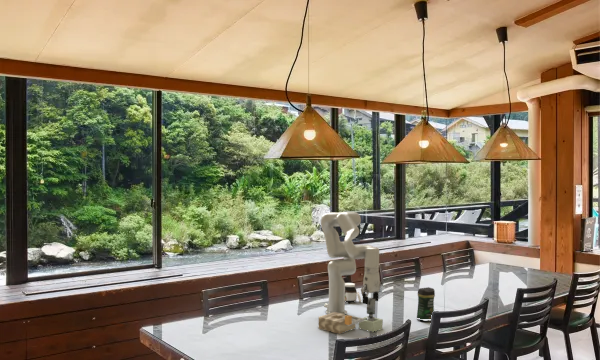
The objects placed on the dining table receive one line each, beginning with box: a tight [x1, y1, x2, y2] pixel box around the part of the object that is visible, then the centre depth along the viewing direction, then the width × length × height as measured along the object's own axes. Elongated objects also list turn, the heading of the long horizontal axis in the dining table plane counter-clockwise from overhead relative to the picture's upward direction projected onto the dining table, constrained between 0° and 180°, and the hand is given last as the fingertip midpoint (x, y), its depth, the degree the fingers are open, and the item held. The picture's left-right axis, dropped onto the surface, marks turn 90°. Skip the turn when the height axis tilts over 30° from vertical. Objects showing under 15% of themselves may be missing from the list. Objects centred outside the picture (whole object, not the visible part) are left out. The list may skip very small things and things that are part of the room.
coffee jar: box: [416, 286, 436, 319], centre depth 278 cm, size 10×8×19 cm
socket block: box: [318, 312, 356, 335], centre depth 259 cm, size 14×14×6 cm
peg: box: [366, 297, 376, 322], centre depth 259 cm, size 4×4×16 cm
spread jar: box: [345, 282, 362, 303], centre depth 318 cm, size 12×11×12 cm
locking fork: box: [342, 314, 364, 326], centre depth 249 cm, size 10×14×5 cm
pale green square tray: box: [358, 315, 384, 333], centre depth 259 cm, size 9×9×5 cm
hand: (370, 302), depth 260 cm, fingers open, 9 cm apart
